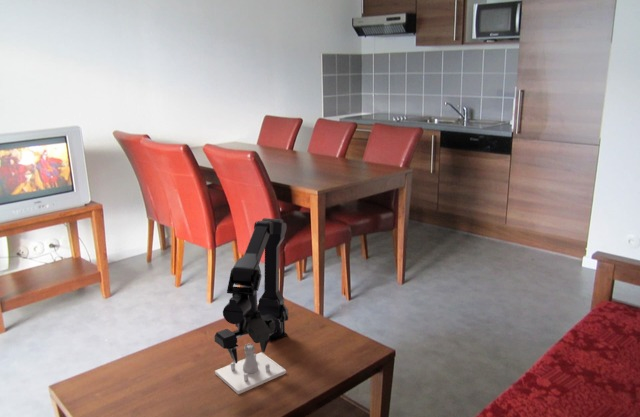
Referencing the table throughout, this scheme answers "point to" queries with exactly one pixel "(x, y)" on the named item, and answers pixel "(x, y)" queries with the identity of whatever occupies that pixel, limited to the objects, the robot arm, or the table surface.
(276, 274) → the robot arm
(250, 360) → the rook chess piece
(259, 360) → the peg board
